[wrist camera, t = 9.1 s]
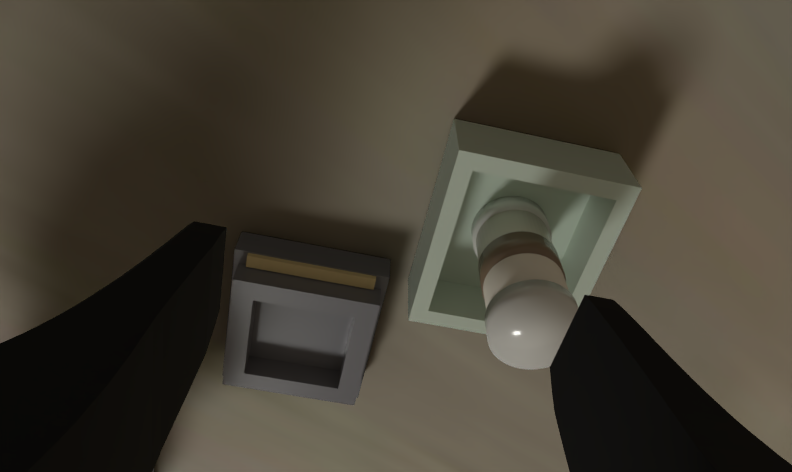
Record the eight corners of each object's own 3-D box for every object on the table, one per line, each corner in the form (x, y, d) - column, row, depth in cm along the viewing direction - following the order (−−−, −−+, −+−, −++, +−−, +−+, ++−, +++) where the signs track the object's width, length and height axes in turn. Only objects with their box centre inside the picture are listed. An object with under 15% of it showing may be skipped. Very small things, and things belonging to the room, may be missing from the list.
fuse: (530, 267, 24) (561, 377, 19) (461, 250, 24) (474, 358, 19) (559, 206, 23) (600, 308, 18) (486, 187, 22) (507, 286, 17)
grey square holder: (359, 377, 28) (356, 415, 26) (229, 355, 28) (216, 393, 26) (390, 259, 25) (389, 293, 23) (242, 231, 24) (228, 265, 22)
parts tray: (551, 305, 26) (563, 347, 24) (408, 279, 25) (408, 320, 23) (619, 153, 22) (642, 188, 20) (454, 118, 21) (459, 150, 19)
